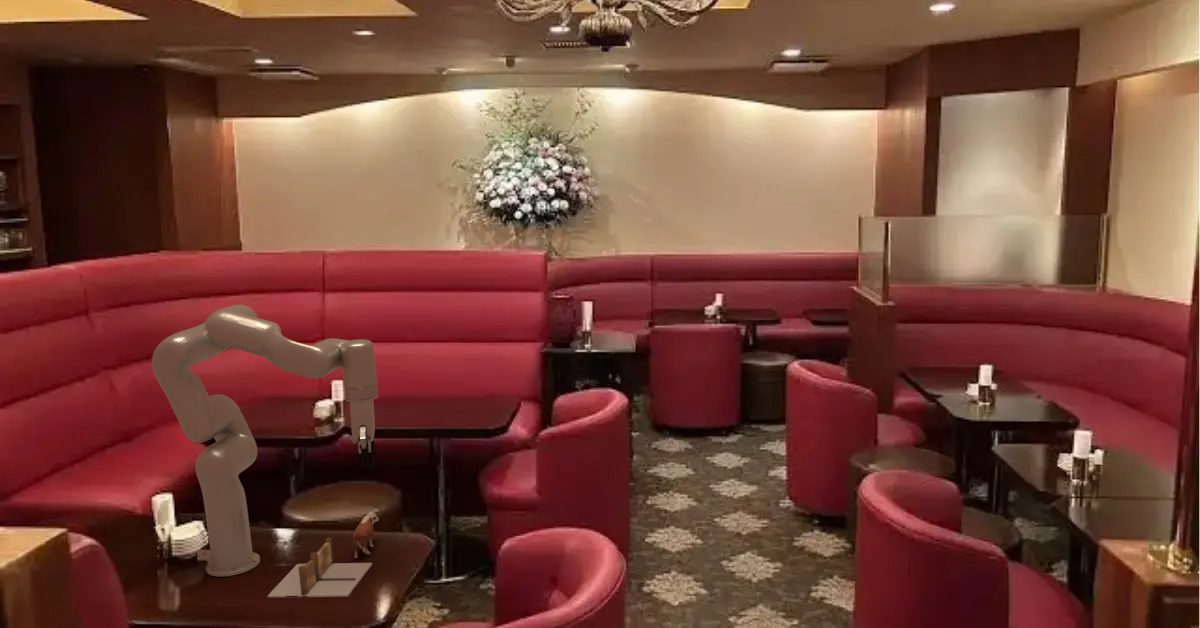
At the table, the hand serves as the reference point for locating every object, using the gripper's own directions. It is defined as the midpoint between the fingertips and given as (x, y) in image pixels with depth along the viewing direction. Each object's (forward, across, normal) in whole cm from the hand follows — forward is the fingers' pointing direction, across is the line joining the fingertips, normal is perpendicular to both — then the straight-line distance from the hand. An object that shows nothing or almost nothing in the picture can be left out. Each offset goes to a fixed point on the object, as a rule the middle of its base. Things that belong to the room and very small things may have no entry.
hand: (367, 462), depth 226 cm
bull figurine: (+27, -12, -3) cm, 29 cm away
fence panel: (+26, 0, -13) cm, 29 cm away
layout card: (+27, +4, -13) cm, 30 cm away
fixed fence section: (+27, +8, -15) cm, 32 cm away
